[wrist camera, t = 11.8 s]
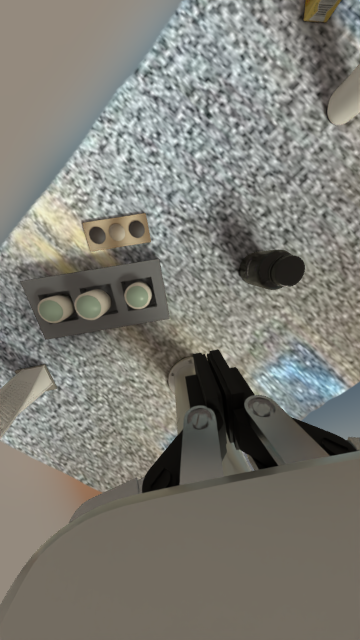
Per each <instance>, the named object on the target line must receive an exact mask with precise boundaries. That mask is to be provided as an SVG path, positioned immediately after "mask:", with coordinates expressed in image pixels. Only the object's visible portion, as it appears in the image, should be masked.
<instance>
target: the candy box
mask: <svg viewBox="0 0 360 640" xmlns="http://www.w3.org/2000/svg"><path fill="white" fill-rule="evenodd" d="M340 1H341V0H306V2H305V12H304V21H310V22H327V21H328V19H329V18H330V16H331V15H332V13H333V12H334V10H335V9H336V7H337V6H338V4H339V3H340Z"/></svg>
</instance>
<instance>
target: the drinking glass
mask: <svg viewBox="0 0 360 640" xmlns="http://www.w3.org/2000/svg"><path fill="white" fill-rule="evenodd" d="M359 113H360V63H359V65H358V66H357V67H356V68H355V69H354V70H353V72H352V73H351V74H350V75H349V76H348V77H347V78H346V80H345V81H344V82H343V83H342V84H341V85H340V86H339V87H338V88H337V89H336V90H335V91H334V93H333V94H332V96H331V98H330V100H329V103H328V108H327V114H328V118H329V120H330V122H331V123H333V124H334V125H343V124H345V123H347V122H348V121H350V120H351V119H352V118H354V117H355V116H356V115H357V114H359Z"/></svg>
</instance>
